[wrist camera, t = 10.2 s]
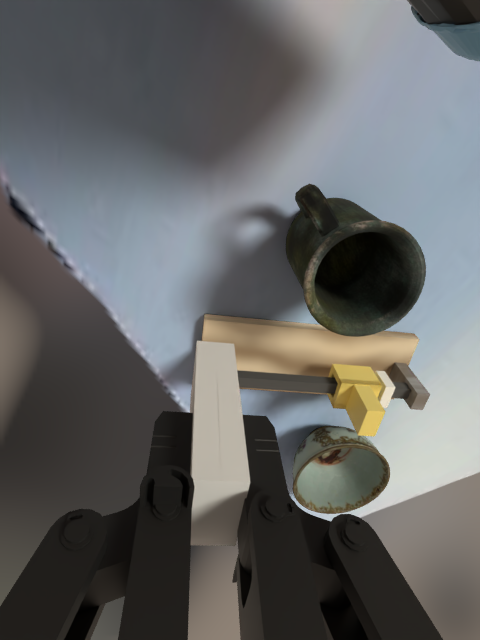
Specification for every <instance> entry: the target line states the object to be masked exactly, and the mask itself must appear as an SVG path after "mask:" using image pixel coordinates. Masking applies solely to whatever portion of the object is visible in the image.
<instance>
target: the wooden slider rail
mask: <svg viewBox="0 0 480 640" xmlns="http://www.w3.org/2000/svg"><path fill="white" fill-rule="evenodd" d="M201 341H207V342H219V343H231V344H234V347H235V356H236V364H237V370H240V371H254V372H267V373H280V374H293V375H307V376H320V377H328V376H329V373H330V370H331V367H332V364H342V365H354V366H367V367H371V369H372V370H373V372H374V373H375V372H376V371H385V372H386V374H387V375H388V377H389V378H390V380H391V381H392V382H400V383H407V385H408V386H409V388H410V389H411V392H410V394H409V396H408V398H407V399H404V400H405V401H406V403H407V404H408V406H409V407H410V409H416V410H423V408H424V406H425V404H426V402H427V400H428V398H429V396H430V394H429V393H428V391H427V390H426V389H425V387H424V386H423V385H422V384H421V382H420V381H419V380H418V378H417V377H416V376H415V375H414V373H413V372H412V371H411V369H410V368H409V367H408V365H409V363H410V360H411V358H412V356H413V353H414V351H415V349H416V346H417V344H418V342H419V339H418V337H417V336H416V335H415V334H412V333H402V332H391V331H381V332H379V333H376V334H373V335H368V336H360V337H351V336H344V335H339V334H336V333H334V332H331V331H330V330H328V329H326V328H324V327H323V326H322V325H317V324H306V323H296V322H285V321H275V320H264V319H253V318H243V317H232V316H222V315H211V314H205V315H204V323H203V332H202V340H201ZM239 389H254V390H269V391H283V392H298V393H312V394H327V393H314V392H300V391H285V390H271V389H257V388H242V387H239ZM327 395H328V394H327ZM391 399H394V398H391Z"/></svg>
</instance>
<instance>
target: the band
mask: <svg viewBox="0 0 480 640" xmlns="http://www.w3.org/2000/svg"><path fill="white" fill-rule="evenodd" d="M375 375H376V377H377V378H378V380H379V381H380V383H381V384H382V388H381V391H380V393H379V396H378V400H379V402H380V403H381V405H382V407H383V408H387V407H388V404H389V402H390V400H391V397H392V395H393V392H394V390H395V388H396V387H395V386H394V384H393V383H392V381H391V380H390V378H389V377H388V375H387V374H386V372H385V371H376V372H375Z"/></svg>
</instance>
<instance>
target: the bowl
mask: <svg viewBox="0 0 480 640" xmlns="http://www.w3.org/2000/svg"><path fill="white" fill-rule="evenodd" d="M389 478H390V468H389V464H388V462H387V461H386V459H385V458H384V457H383V456H382V455H381V454H380V453H379V451H378V450H377V449H376V447H375V446H374V445H373V444H372V443H371V442H370V441H369V440H368V439H367V438H366V437H365V436H359V435H357V432H356V431H355V430H352V429H349V428H346V427H339V426H324V427H320V428H318V429H316V430H314V431H313V432H311V433H310V435H309V436H308V437H307V438H306V439H305V440H304V441H303V442H302V443H301V445H300V446H299V448H298V450H297V452H296V454H295V458H294V463H293V481H294V482H293V493H294V496H295V498H296V499H297V501H298V502H299V503H300V504H301V505H302V506H303V507H305V508H307V509H309V510H311V511H315V512H319V513H327V514H336V513H344V512H348V511H352V510H355V509H357V508H360V507H362V506H364V505H366V504H368V503H370V502H371V501H372V500H374V499H375V498H376V497H378V496H379V494H380V493H381V492H382V491H383V490H384V489H385V487H386V486H387V484H388V481H389Z"/></svg>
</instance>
